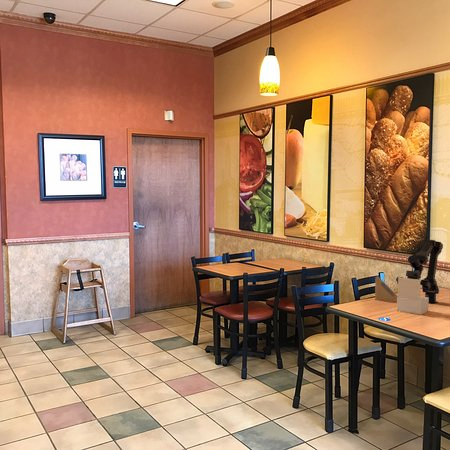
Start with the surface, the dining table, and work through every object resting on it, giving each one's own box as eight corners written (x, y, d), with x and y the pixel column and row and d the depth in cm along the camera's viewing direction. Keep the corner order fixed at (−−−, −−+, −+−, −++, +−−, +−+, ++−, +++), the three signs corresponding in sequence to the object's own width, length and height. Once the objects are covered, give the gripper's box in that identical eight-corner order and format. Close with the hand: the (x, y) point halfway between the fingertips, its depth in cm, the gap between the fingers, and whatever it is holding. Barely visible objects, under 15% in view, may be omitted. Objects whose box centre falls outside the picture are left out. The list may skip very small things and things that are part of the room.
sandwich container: (399, 302, 312) (400, 279, 311) (375, 300, 319) (375, 277, 318) (401, 299, 320) (401, 277, 319) (377, 297, 327) (377, 275, 326)
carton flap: (398, 277, 289) (398, 277, 288) (420, 279, 280) (420, 279, 280) (398, 297, 289) (397, 297, 289) (419, 300, 281) (419, 300, 280)
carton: (405, 307, 299) (405, 294, 299) (428, 310, 290) (428, 297, 289) (396, 311, 291) (397, 297, 290) (420, 315, 281) (420, 301, 281)
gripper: (396, 263, 293) (389, 285, 287) (428, 266, 281) (421, 289, 274) (402, 273, 300) (395, 295, 293) (433, 277, 287) (426, 299, 281)
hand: (409, 294), depth 285 cm, fingers closed, pressing on carton flap
